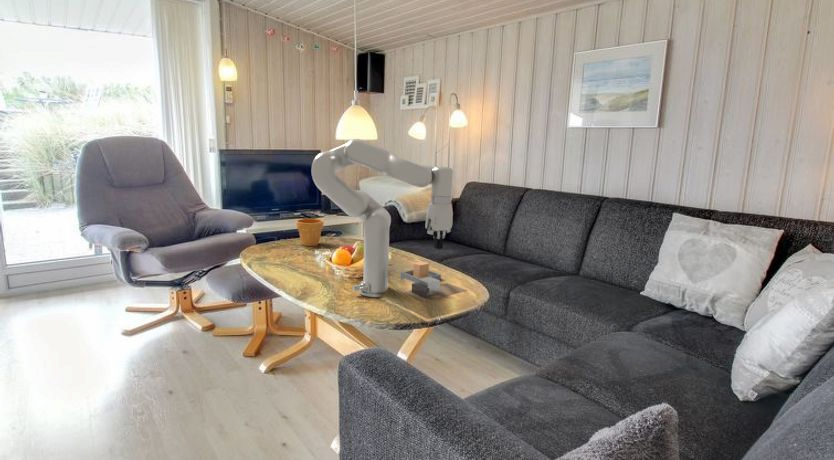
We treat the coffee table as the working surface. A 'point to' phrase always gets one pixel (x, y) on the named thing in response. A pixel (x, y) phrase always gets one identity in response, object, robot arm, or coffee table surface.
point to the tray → (409, 276)
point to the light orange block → (421, 269)
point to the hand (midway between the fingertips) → (438, 248)
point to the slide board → (423, 294)
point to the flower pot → (309, 231)
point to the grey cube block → (430, 284)
